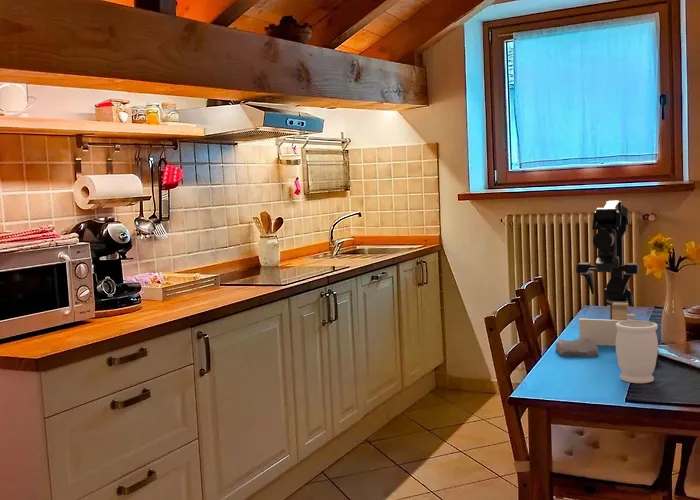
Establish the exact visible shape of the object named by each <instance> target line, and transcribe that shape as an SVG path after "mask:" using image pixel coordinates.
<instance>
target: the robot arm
mask: <svg viewBox="0 0 700 500" xmlns="http://www.w3.org/2000/svg"><path fill="white" fill-rule="evenodd" d="M629 225H630V215H629V209H628V208H627V207H625V206H624V205H623V203H622V200H608V201H605V205H604V206H603V207H597V208H596V209H595V211H593V216H592V228H591V229H592V231H593V230H594V231H597V233H595V235H594V236H593V239H592V243H593V245H594V247H595V248H596V249H597V256H596V260H595V264H592V262H579V263H578V264H576V266H575V273H577V274H578V273H579V274H580V276H583V277H584V278H585V280H586V282H587V284H588V286H589V289H590V293H591V295H594V292H595V290H594V289H595V288H594V286H595V285H594V276H593V272H594V271H596V272H597V273H603V272H604V273H610V279H609V280H608V282H607V283H606V288H604V302H605V303H604V304H605V306H609V319H608V320H612V304H613V303H628V307H631V306H633V305H634V303H633V302H634V301H633V300H634V299H633V292H632V291H631V288H629V280H630V278H631V277H634V275H636V274H637V275H638V273H639V272H640V265H639V264H638V263H637V262H625V263H624V235H625V233H626V232H627V231H628V226H629Z"/></svg>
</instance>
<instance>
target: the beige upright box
mask: <svg viewBox="0 0 700 500" xmlns="http://www.w3.org/2000/svg"><path fill="white" fill-rule="evenodd" d="M578 319H579V320H578V321H579V322H578V327H579V329H578V331H579V332H578V334H579V337H578V339H581V338H591V339H594V340H595V342H596V345H597V346H609V347H610V346H612V347H616V335H617V331H618V329H617V328H616V323H617V322H620V321H626V320H609V319H605V318H604V319H602V318H582V317H581V318H578Z"/></svg>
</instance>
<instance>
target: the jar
mask: <svg viewBox="0 0 700 500" xmlns="http://www.w3.org/2000/svg"><path fill="white" fill-rule="evenodd" d="M658 327H659V326H658V324H657V323H656V322H653V321H648V320H638V319H636V320H627V321H620V322H617V323H616V328H617V329H618V331H617V335H616V346H615V352H616V357H617V364H618V366H619V370H620V371H621V374H620V376H619V378H620V380H622V381H623V382H626V383H632V384H648V383H651V382H654V380H655V377H654V376H653V373H654V371H655V368H656V365H657V362H656V358H657V354H658V353H659V352H658V350H659V342H658V335H657V332H656V331H657V329H658Z"/></svg>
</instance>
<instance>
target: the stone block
mask: <svg viewBox="0 0 700 500" xmlns="http://www.w3.org/2000/svg"><path fill="white" fill-rule="evenodd" d="M555 351H556V352H557V353H559V355H560V356H562V357H564V356H565V357H580V358H581V357H582V358H583V357H584V358H587V357H588V358H590V357H598V356H599V355H600V353H599V347H598V345H596V342H595V340H594V339H591V338H581V339H580V338H577V339H574V340H565V339H559V340H557V342H555Z"/></svg>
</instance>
